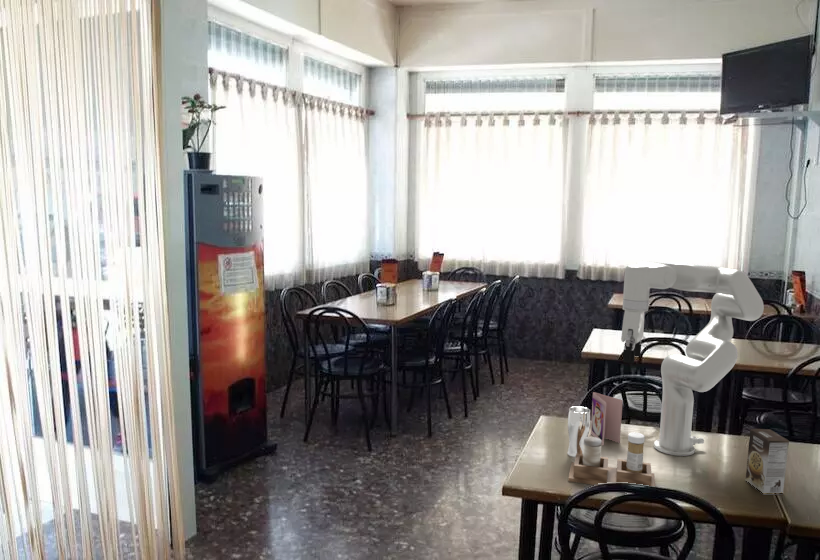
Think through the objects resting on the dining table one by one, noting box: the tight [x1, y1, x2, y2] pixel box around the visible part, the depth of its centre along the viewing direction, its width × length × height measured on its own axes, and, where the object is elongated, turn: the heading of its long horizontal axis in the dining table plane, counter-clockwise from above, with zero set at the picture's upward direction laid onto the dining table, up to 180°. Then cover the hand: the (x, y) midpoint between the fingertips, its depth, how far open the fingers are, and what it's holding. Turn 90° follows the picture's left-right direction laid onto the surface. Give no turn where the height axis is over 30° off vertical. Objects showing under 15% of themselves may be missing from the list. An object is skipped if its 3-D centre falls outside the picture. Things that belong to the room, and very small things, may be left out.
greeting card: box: [590, 391, 624, 447], centre depth 227 cm, size 11×7×15 cm, turn 6°
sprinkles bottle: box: [626, 431, 646, 473], centre depth 195 cm, size 5×5×14 cm
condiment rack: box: [567, 436, 656, 486], centre depth 197 cm, size 24×12×11 cm, turn 72°
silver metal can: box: [567, 405, 591, 459], centre depth 214 cm, size 7×7×15 cm
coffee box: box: [745, 428, 790, 494], centre depth 193 cm, size 9×6×16 cm
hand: (631, 359), depth 208 cm, fingers open, 9 cm apart
